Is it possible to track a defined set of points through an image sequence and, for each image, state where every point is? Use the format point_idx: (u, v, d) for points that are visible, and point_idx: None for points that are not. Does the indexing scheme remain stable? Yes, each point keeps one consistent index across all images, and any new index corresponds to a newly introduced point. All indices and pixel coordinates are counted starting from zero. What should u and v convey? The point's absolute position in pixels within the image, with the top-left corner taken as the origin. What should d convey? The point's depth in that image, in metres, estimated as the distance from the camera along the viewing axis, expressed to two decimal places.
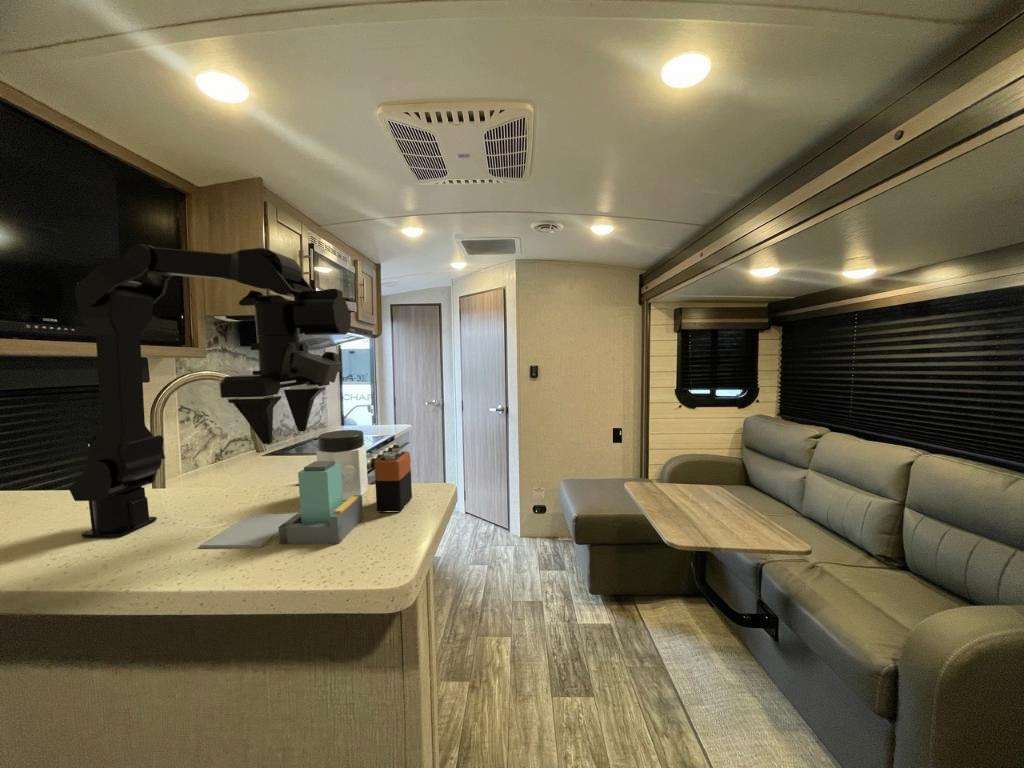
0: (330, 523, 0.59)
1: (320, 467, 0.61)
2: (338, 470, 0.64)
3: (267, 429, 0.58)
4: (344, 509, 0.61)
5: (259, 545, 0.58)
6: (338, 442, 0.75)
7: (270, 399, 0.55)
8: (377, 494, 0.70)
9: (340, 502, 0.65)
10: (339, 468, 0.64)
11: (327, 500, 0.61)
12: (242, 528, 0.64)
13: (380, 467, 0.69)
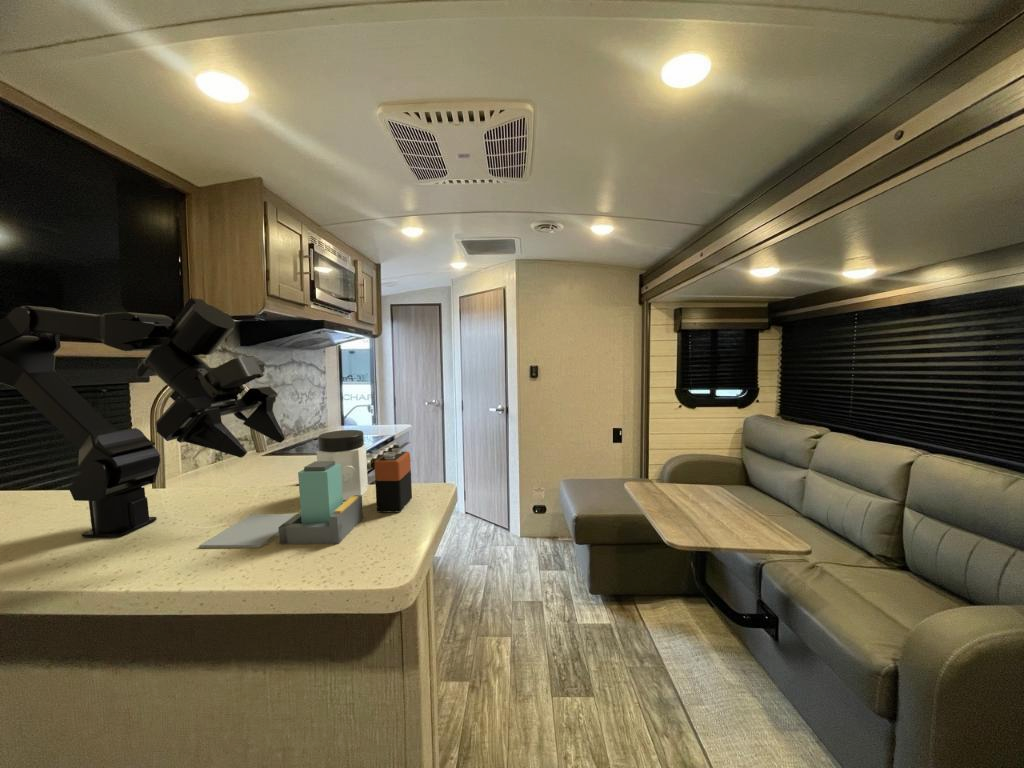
0: (330, 523, 0.59)
1: (320, 467, 0.61)
2: (338, 470, 0.64)
3: (232, 442, 0.57)
4: (344, 509, 0.61)
5: (259, 545, 0.58)
6: (338, 442, 0.75)
7: (206, 411, 0.55)
8: (377, 494, 0.70)
9: (340, 502, 0.65)
10: (339, 468, 0.64)
11: (327, 500, 0.61)
12: (242, 528, 0.64)
13: (380, 467, 0.69)
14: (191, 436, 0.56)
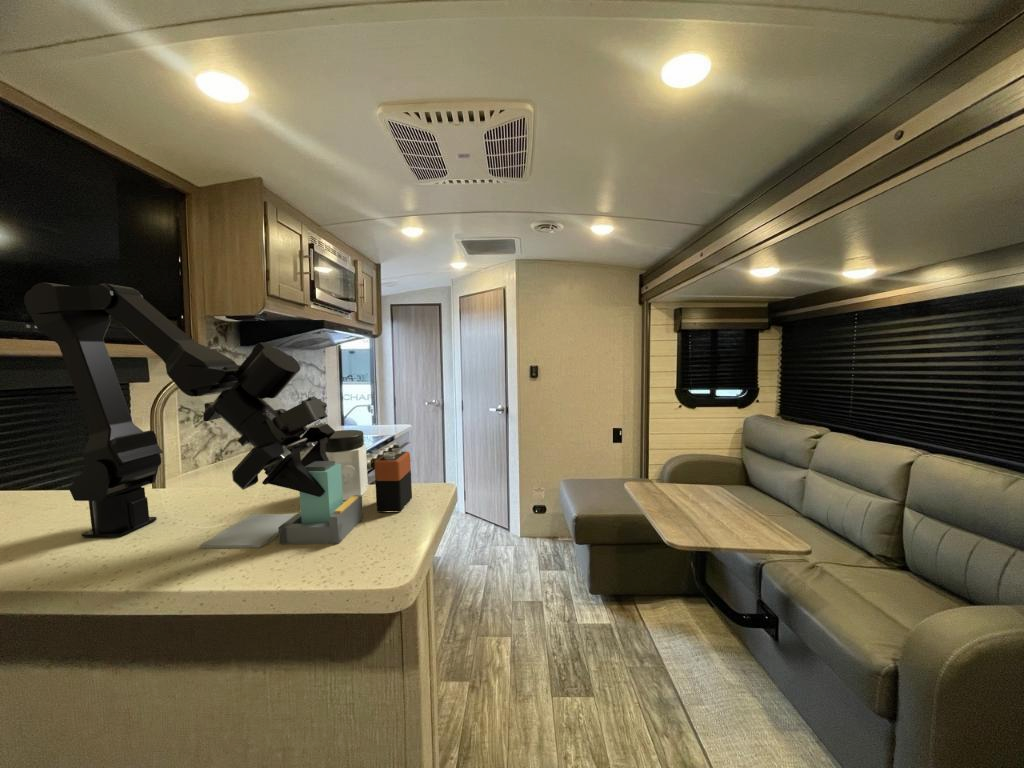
0: (330, 523, 0.59)
1: (320, 467, 0.61)
2: (338, 470, 0.64)
3: (311, 482, 0.59)
4: (344, 509, 0.61)
5: (259, 545, 0.58)
6: (338, 442, 0.75)
7: (290, 454, 0.57)
8: (377, 494, 0.70)
9: (341, 502, 0.65)
10: (339, 468, 0.64)
11: (327, 500, 0.61)
12: (242, 528, 0.64)
13: (380, 467, 0.69)
14: (274, 478, 0.58)
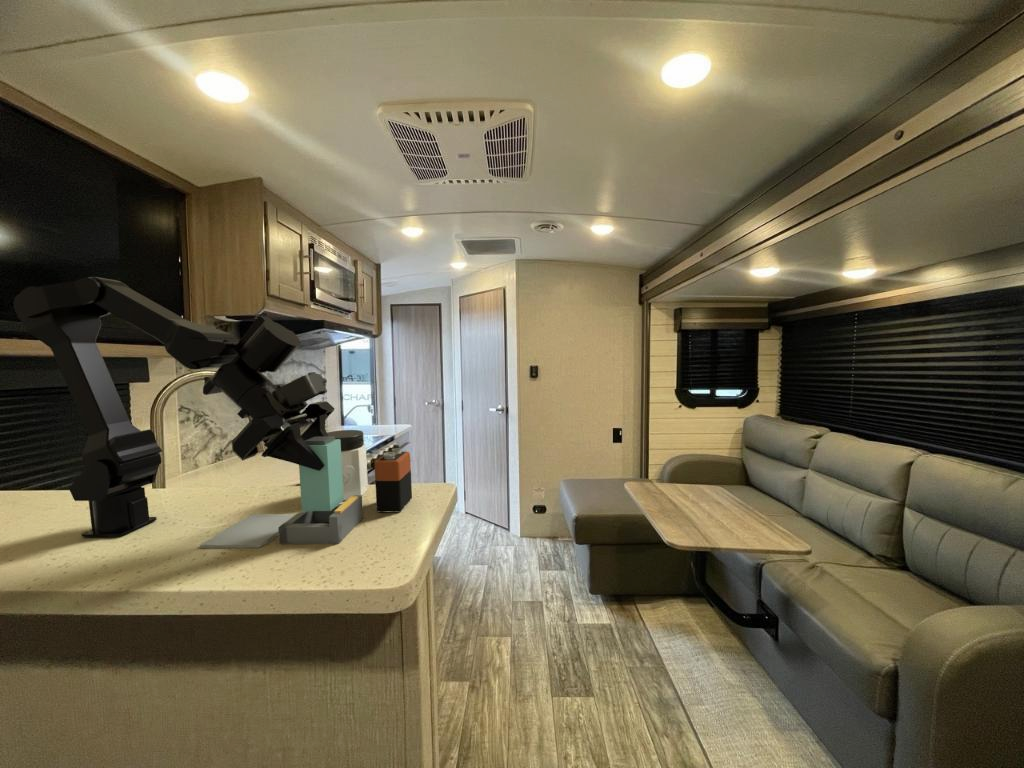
0: (330, 523, 0.59)
1: (320, 441, 0.61)
2: (337, 445, 0.64)
3: (311, 455, 0.59)
4: (344, 509, 0.61)
5: (259, 545, 0.58)
6: None
7: (289, 427, 0.57)
8: (377, 494, 0.70)
9: (340, 477, 0.64)
10: (339, 443, 0.64)
11: (327, 474, 0.61)
12: (242, 528, 0.64)
13: (380, 467, 0.69)
14: (274, 451, 0.58)
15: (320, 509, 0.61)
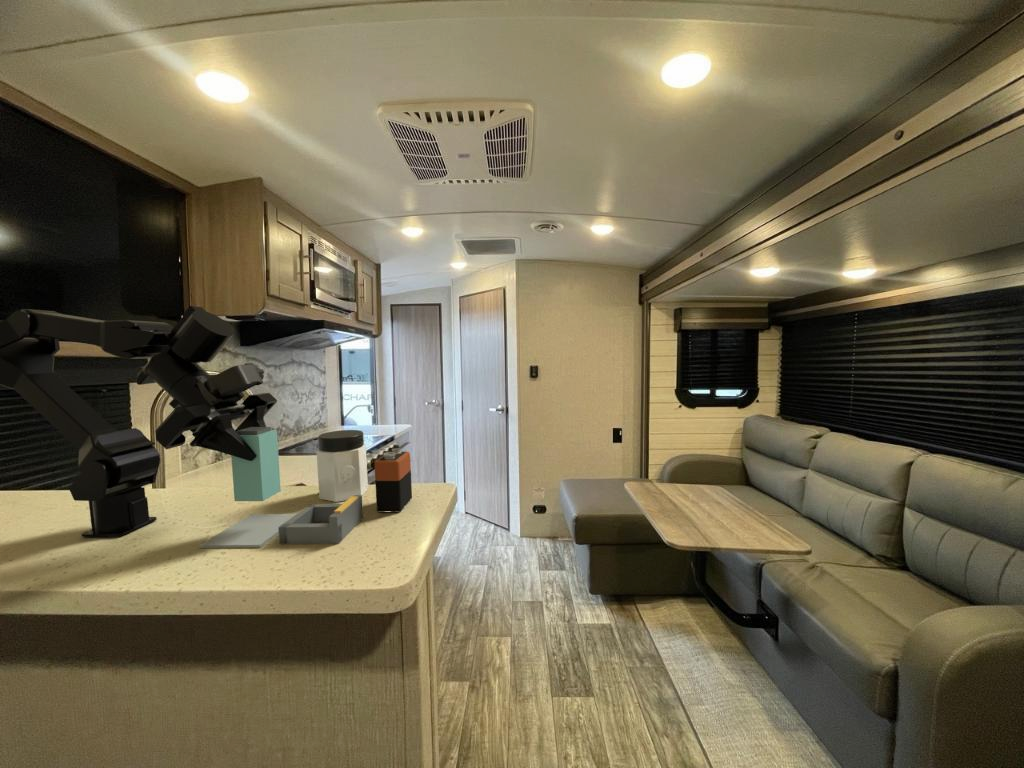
0: (330, 523, 0.59)
1: (252, 431, 0.61)
2: (273, 436, 0.64)
3: (242, 446, 0.59)
4: (344, 509, 0.61)
5: (259, 545, 0.58)
6: (338, 442, 0.75)
7: (217, 416, 0.57)
8: (377, 494, 0.70)
9: (276, 468, 0.64)
10: (275, 434, 0.64)
11: (259, 464, 0.61)
12: (242, 528, 0.64)
13: (380, 467, 0.69)
14: (203, 440, 0.58)
15: (253, 499, 0.61)
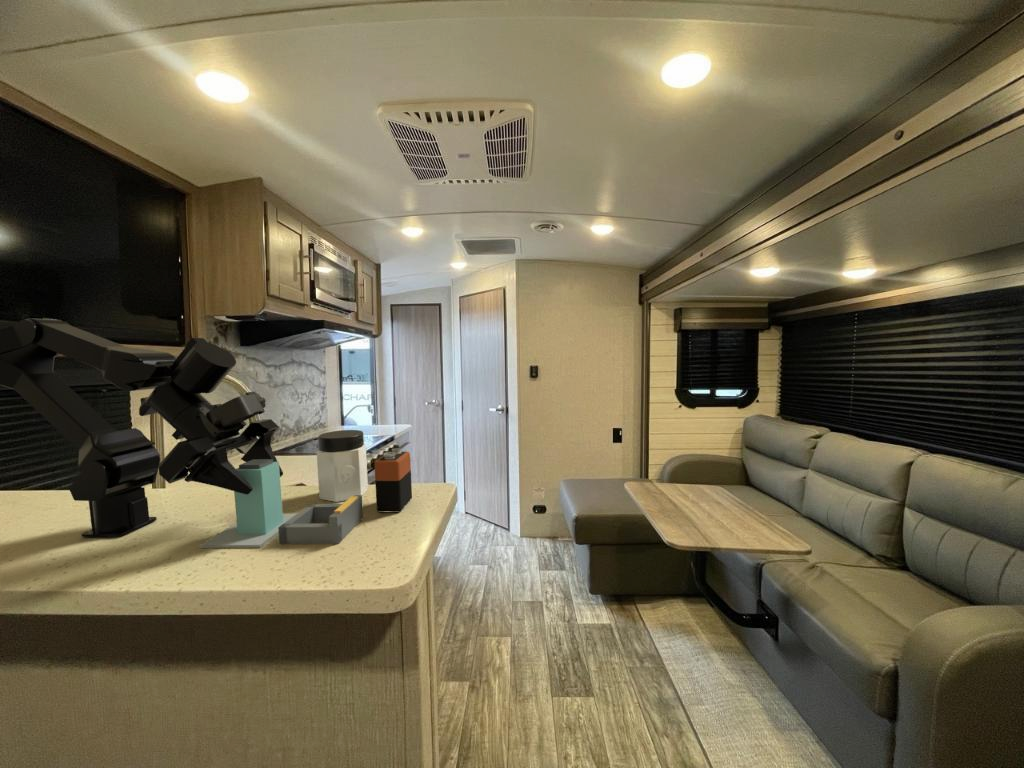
0: (330, 523, 0.59)
1: (255, 465, 0.61)
2: (275, 468, 0.64)
3: (238, 479, 0.58)
4: (344, 509, 0.61)
5: (259, 545, 0.58)
6: (338, 442, 0.75)
7: (212, 451, 0.56)
8: (377, 494, 0.70)
9: (279, 500, 0.65)
10: (277, 466, 0.65)
11: (261, 498, 0.61)
12: None
13: (380, 467, 0.69)
14: (198, 475, 0.57)
15: (256, 533, 0.61)
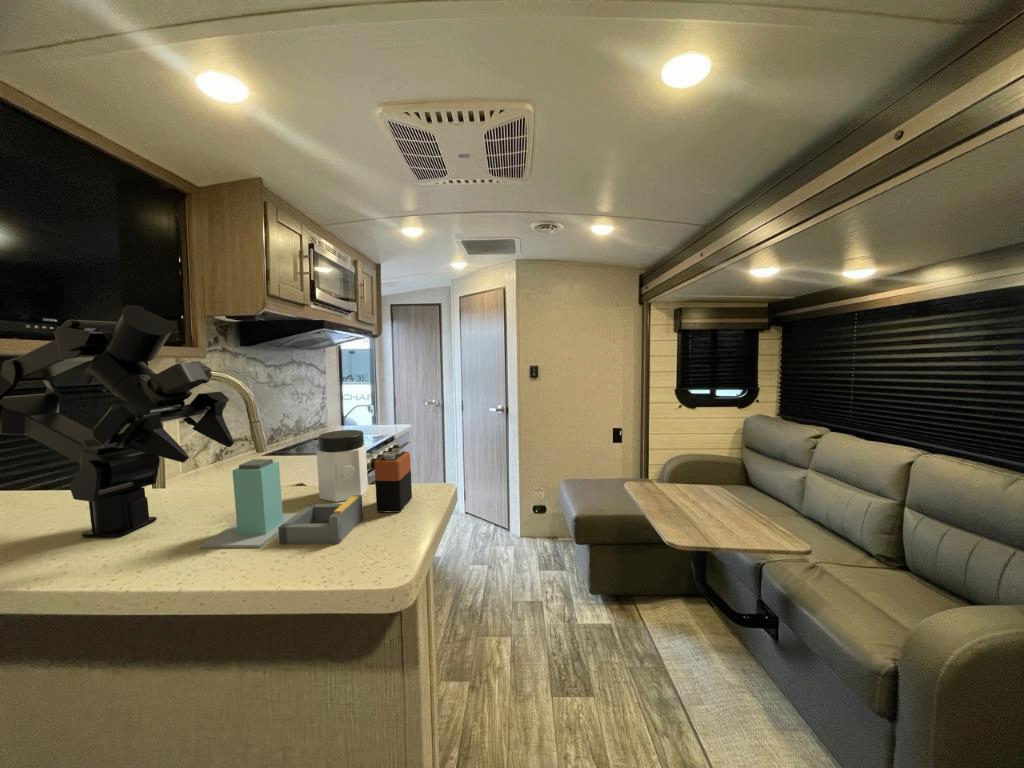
0: (330, 523, 0.59)
1: (255, 465, 0.61)
2: (275, 468, 0.64)
3: (172, 447, 0.58)
4: (344, 509, 0.61)
5: (259, 545, 0.58)
6: (338, 442, 0.75)
7: (143, 416, 0.55)
8: (377, 494, 0.70)
9: (279, 500, 0.65)
10: (277, 466, 0.65)
11: (261, 498, 0.61)
12: None
13: (380, 467, 0.69)
14: (131, 442, 0.56)
15: (256, 533, 0.61)
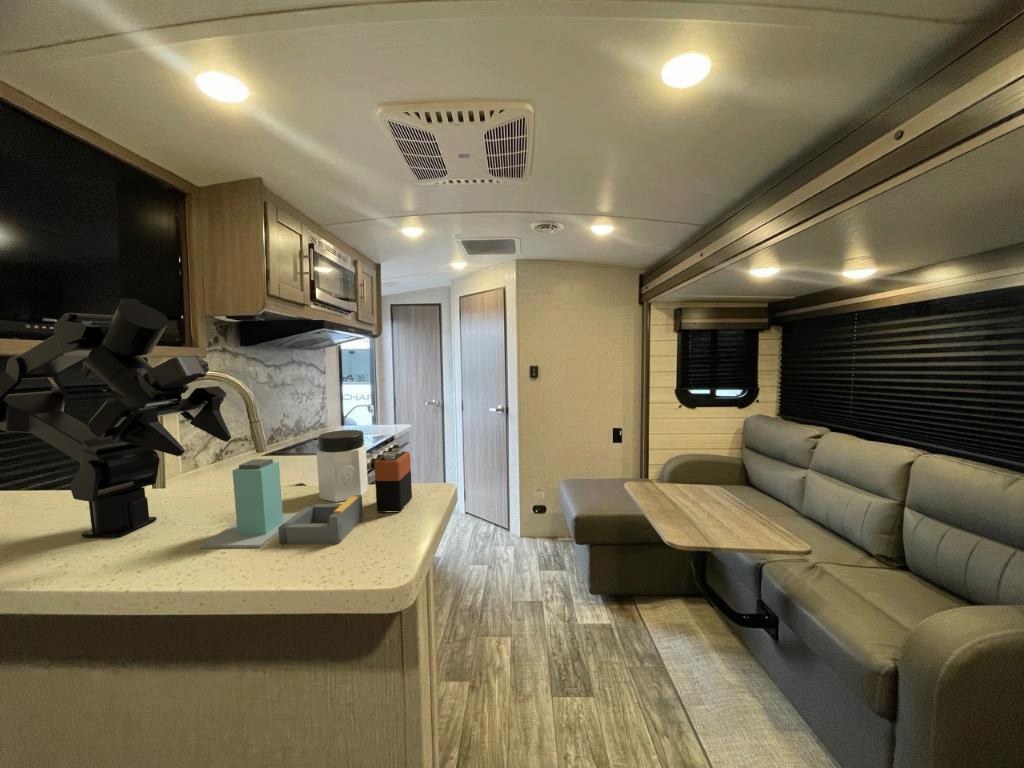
0: (330, 523, 0.59)
1: (255, 465, 0.61)
2: (275, 468, 0.64)
3: (168, 440, 0.57)
4: (344, 509, 0.61)
5: (259, 545, 0.58)
6: (338, 442, 0.75)
7: (139, 410, 0.55)
8: (377, 494, 0.70)
9: (279, 500, 0.65)
10: (277, 466, 0.65)
11: (261, 498, 0.61)
12: None
13: (380, 467, 0.69)
14: (127, 435, 0.56)
15: (256, 533, 0.61)
